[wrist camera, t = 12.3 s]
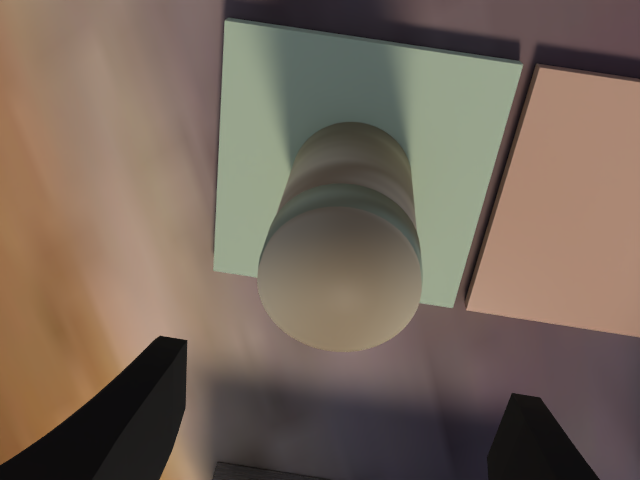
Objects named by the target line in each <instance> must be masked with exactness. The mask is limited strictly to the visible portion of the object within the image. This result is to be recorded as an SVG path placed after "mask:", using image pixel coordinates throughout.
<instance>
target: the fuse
mask: <svg viewBox="0 0 640 480" xmlns="http://www.w3.org/2000/svg"><path fill="white" fill-rule="evenodd" d="M422 284H423V269H422V259H421V249H420V242H419V237H418V234H417V227H416V217H415V206H414V195H413V185H412V174H411V167H410V164H409V160H408V158H407V156H406V153H405V152H404V150H403V148H402V147H401V146H400V144H399V143H398V142H397V141H396V140H395V139H394V138H393V137H392V136H391V135H389V134H388V133H386V132H385V131H383V130H381V129H379V128H377V127H375V126H372V125H370V124H365V123H361V122H342V123H336V124H333V125H329V126H327V127H325V128H322V129H321V130H319V131H317V132H316V133H314V134H313V135H312V136H311V137H309V138H308V139H307V140H306V142H305V143H304V144H303V145H302V147H301V148H300V149H299V151H298V153H297V155H296V158H295V161H294V164H293V167H292V170H291V173H290V175H289V178H288V181H287V184H286V187H285V190H284V193H283V196H282V199H281V202H280V205H279V208H278V211H277V214H276V216H275V218H274V220H273V222H272V224H271V226H270V229H269V231H268V234H267V237H266V240H265V243H264V246H263V249H262V252H261V255H260V259H259V265H258V274H257V285H258V292H259V296H260V299H261V302H262V304H263V306H264V309H265V310H266V312H267V313H268V315H269V317H270V318H271V319H272V320H273V322H274V323H275V324H276V325H277V326H278V327H279V328H280V329H281V330H282V331H284V332H285V333H286V334H288V335H289V336H290V337H292V338H294V339H296V340H297V341H299V342H301V343H304V344H306V345H308V346H311V347H314V348H317V349H322V350H326V351H334V352H352V351H360V350H365V349H369V348H372V347H375V346H378V345H380V344H382V343H384V342H386V341H388V340H390V339H391V338H393V337H394V336H396V335H397V334H398V333H399V332H401V331H402V330H403V329H404V328H405V327H406V326H407V325H408V323H409V322H410V320H411V319H412V318H413V316H414V314H415V312H416V310H417V308H418V305H419V302H420V298H421V292H422Z"/></svg>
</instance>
